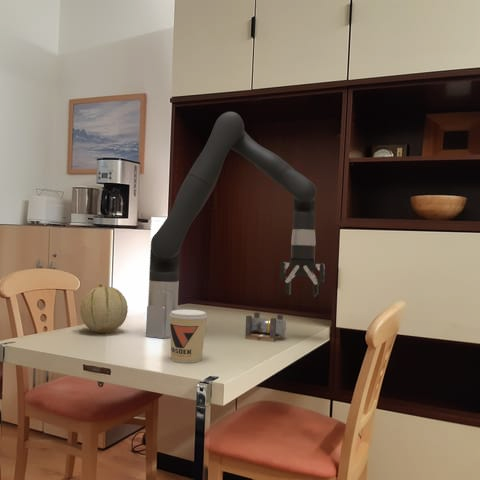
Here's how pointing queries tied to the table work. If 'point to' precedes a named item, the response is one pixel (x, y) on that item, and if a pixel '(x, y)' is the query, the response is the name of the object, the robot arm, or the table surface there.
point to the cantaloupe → (103, 309)
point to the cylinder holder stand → (262, 337)
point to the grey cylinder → (267, 326)
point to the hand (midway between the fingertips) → (301, 295)
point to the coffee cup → (187, 335)
